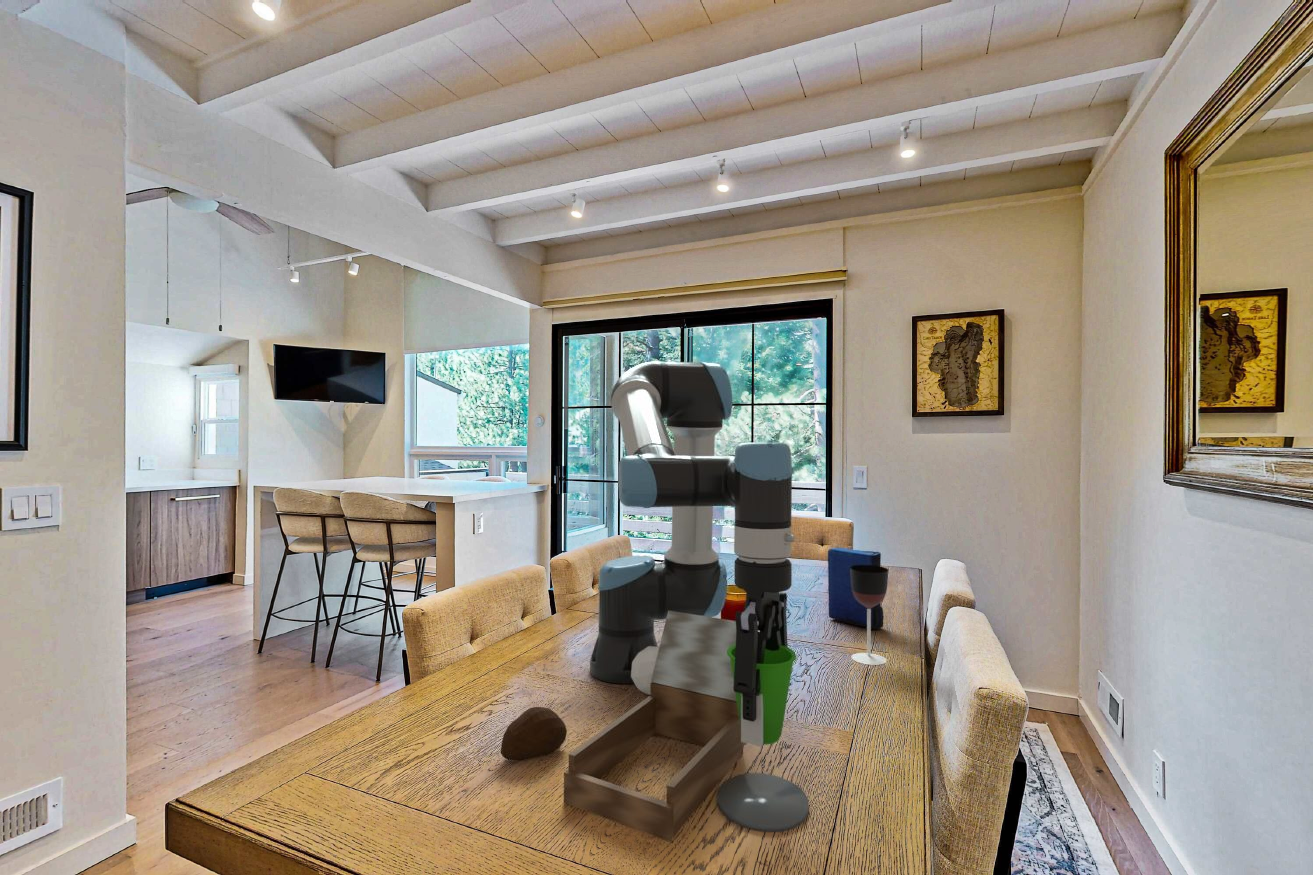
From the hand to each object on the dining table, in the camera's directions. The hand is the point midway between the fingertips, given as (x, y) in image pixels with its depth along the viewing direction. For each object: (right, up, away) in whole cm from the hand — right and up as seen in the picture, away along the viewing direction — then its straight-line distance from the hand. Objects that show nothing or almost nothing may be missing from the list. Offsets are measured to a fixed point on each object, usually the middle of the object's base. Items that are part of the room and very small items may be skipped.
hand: (762, 729), depth 81 cm
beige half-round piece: (-14, -10, +34) cm, 38 cm away
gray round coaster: (0, -10, 0) cm, 10 cm away
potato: (-33, -10, +13) cm, 37 cm away
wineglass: (+33, -10, +55) cm, 65 cm away
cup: (0, -1, 0) cm, 1 cm away
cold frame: (-12, -10, +9) cm, 18 cm away
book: (+39, -11, +80) cm, 90 cm away
